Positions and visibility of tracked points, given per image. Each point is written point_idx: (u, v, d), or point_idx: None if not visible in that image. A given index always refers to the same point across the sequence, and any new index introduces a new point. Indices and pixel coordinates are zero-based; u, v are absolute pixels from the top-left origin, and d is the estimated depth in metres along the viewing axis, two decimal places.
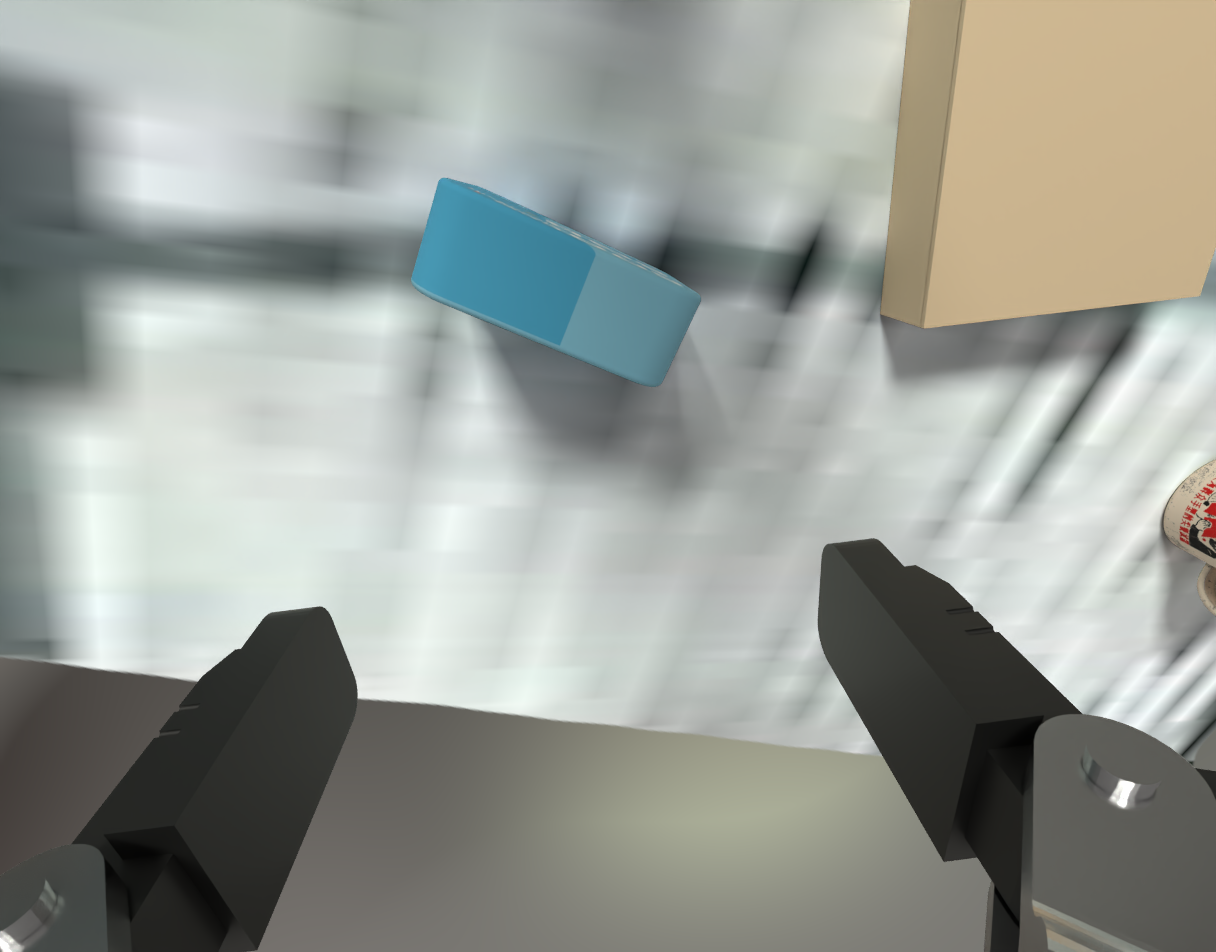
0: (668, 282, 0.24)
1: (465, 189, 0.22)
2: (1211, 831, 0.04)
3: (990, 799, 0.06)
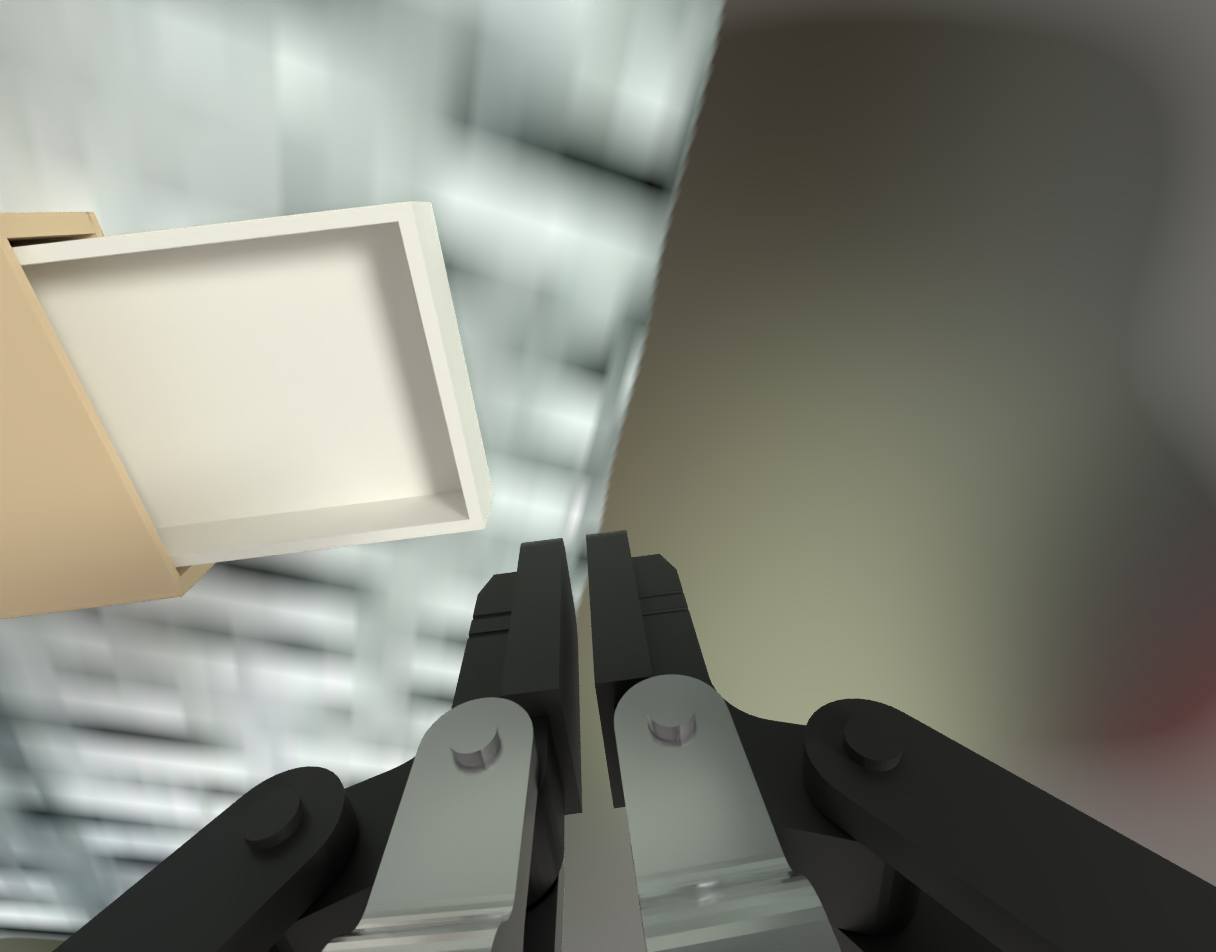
0: None
1: None
2: (700, 762, 0.05)
3: None
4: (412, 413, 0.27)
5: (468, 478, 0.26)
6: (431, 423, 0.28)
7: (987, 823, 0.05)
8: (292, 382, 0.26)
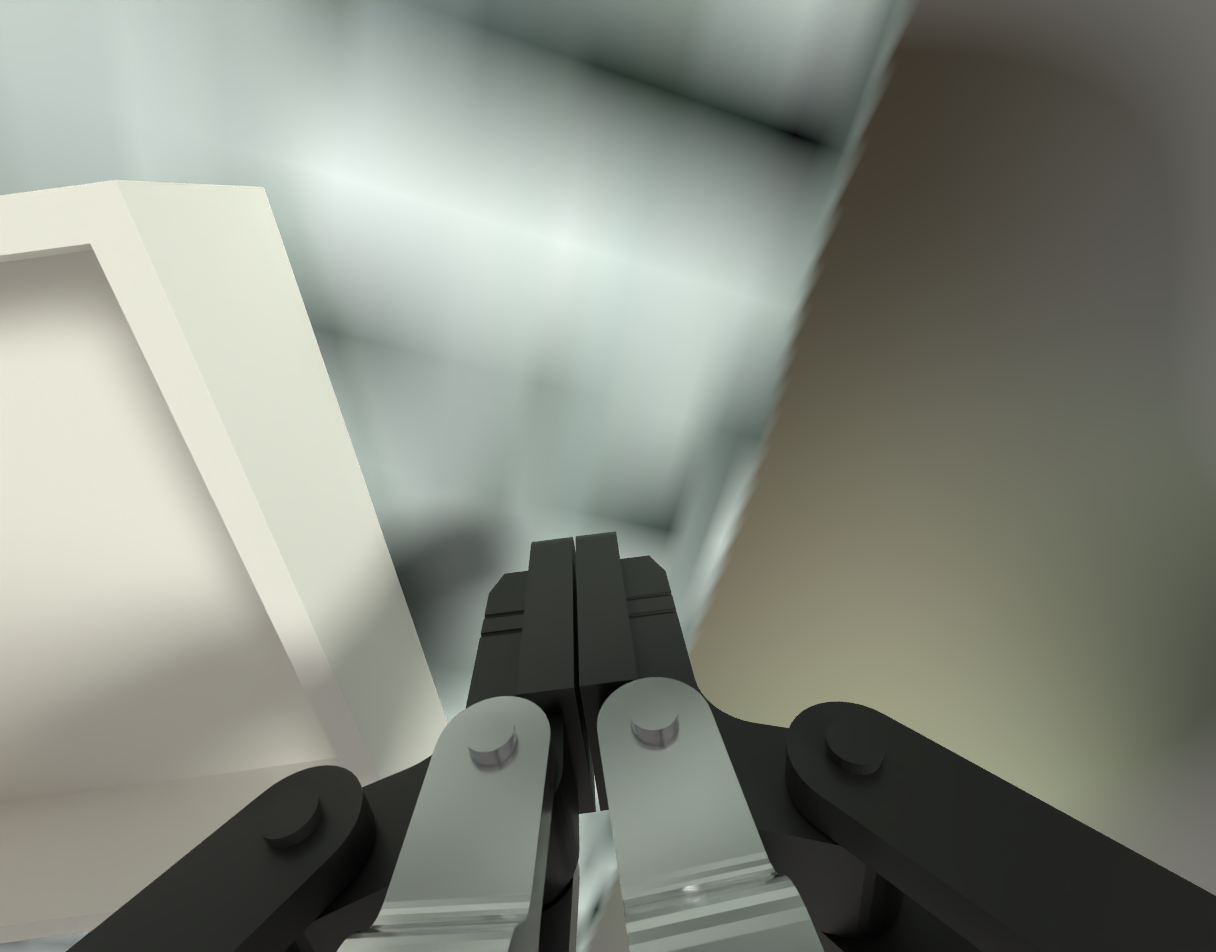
0: None
1: None
2: (681, 765, 0.05)
3: None
4: None
5: None
6: None
7: (968, 825, 0.05)
8: (10, 581, 0.12)
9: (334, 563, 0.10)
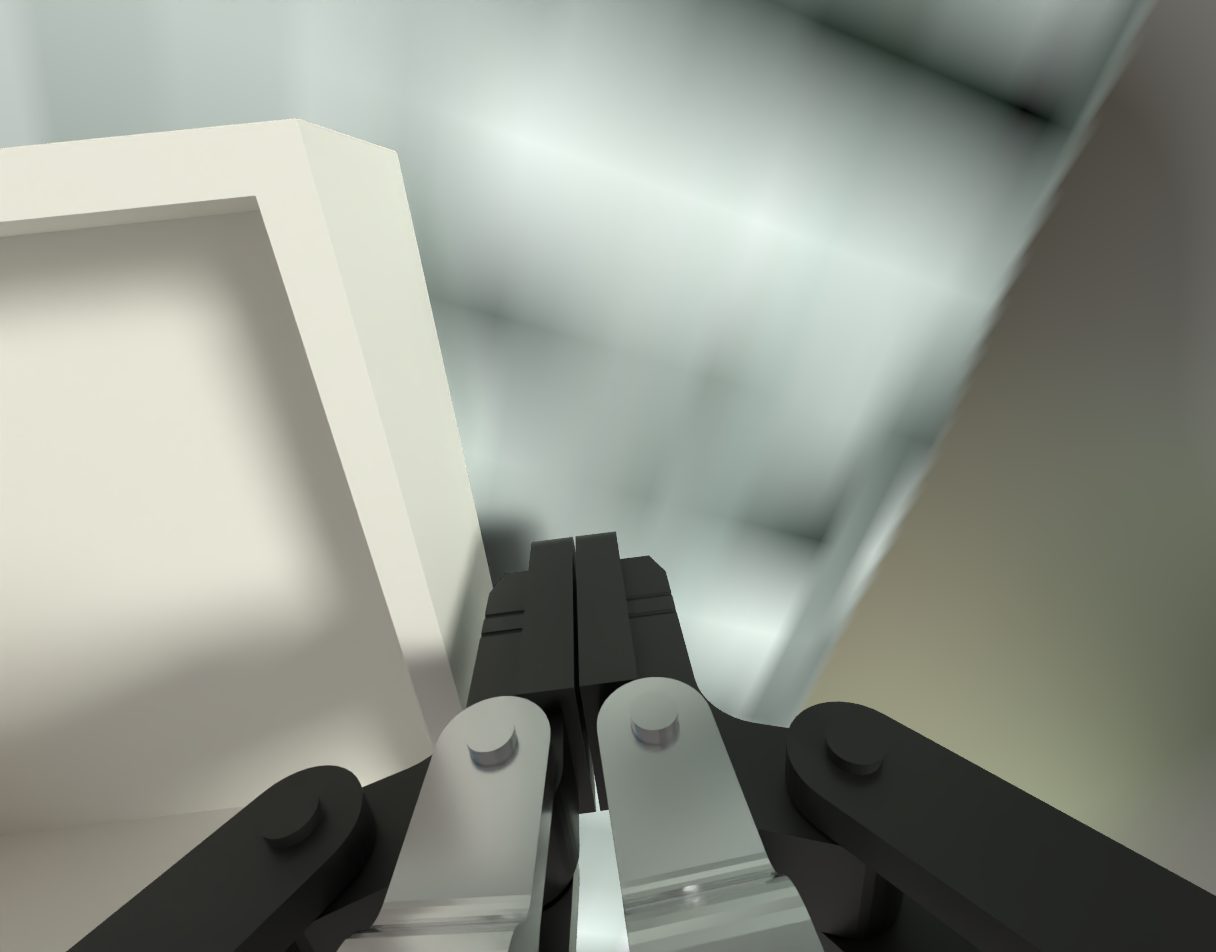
0: None
1: None
2: (682, 765, 0.05)
3: None
4: (358, 645, 0.12)
5: None
6: (403, 664, 0.12)
7: (968, 824, 0.05)
8: (67, 589, 0.11)
9: (456, 578, 0.09)
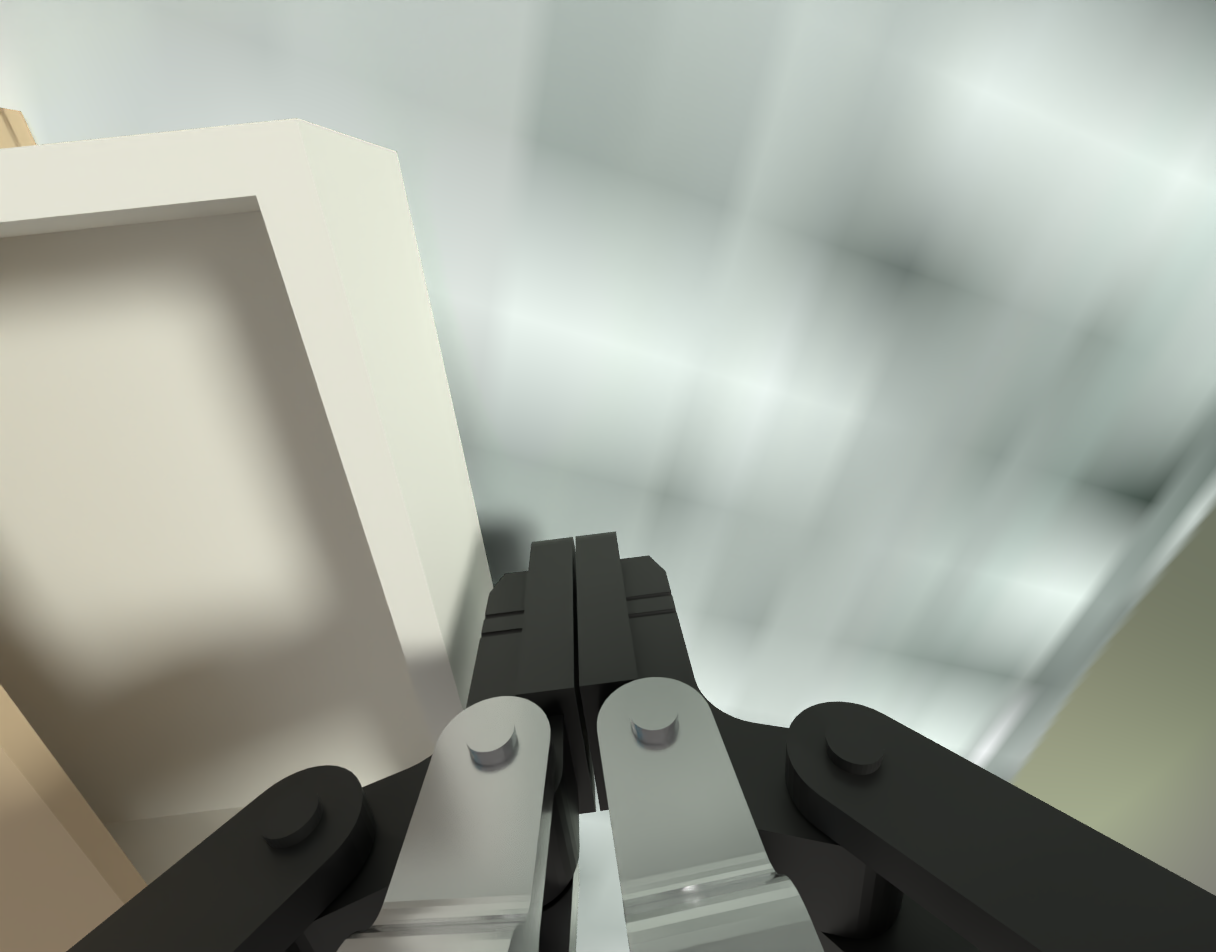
0: None
1: None
2: (681, 765, 0.05)
3: None
4: (358, 645, 0.12)
5: None
6: (403, 663, 0.12)
7: (968, 824, 0.05)
8: (68, 590, 0.11)
9: (456, 577, 0.09)
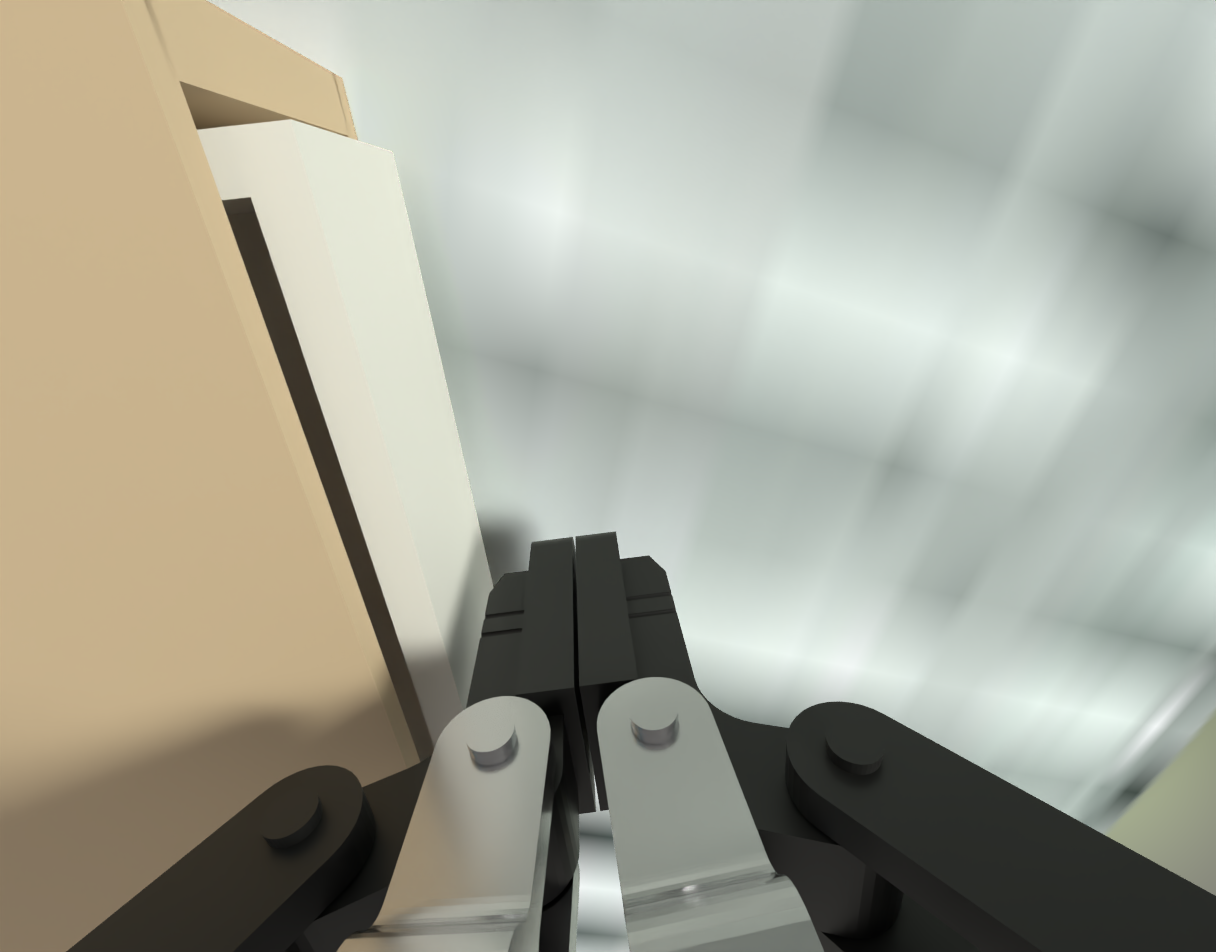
0: None
1: None
2: (681, 765, 0.05)
3: None
4: None
5: None
6: (404, 664, 0.12)
7: (968, 824, 0.05)
8: None
9: (456, 578, 0.09)
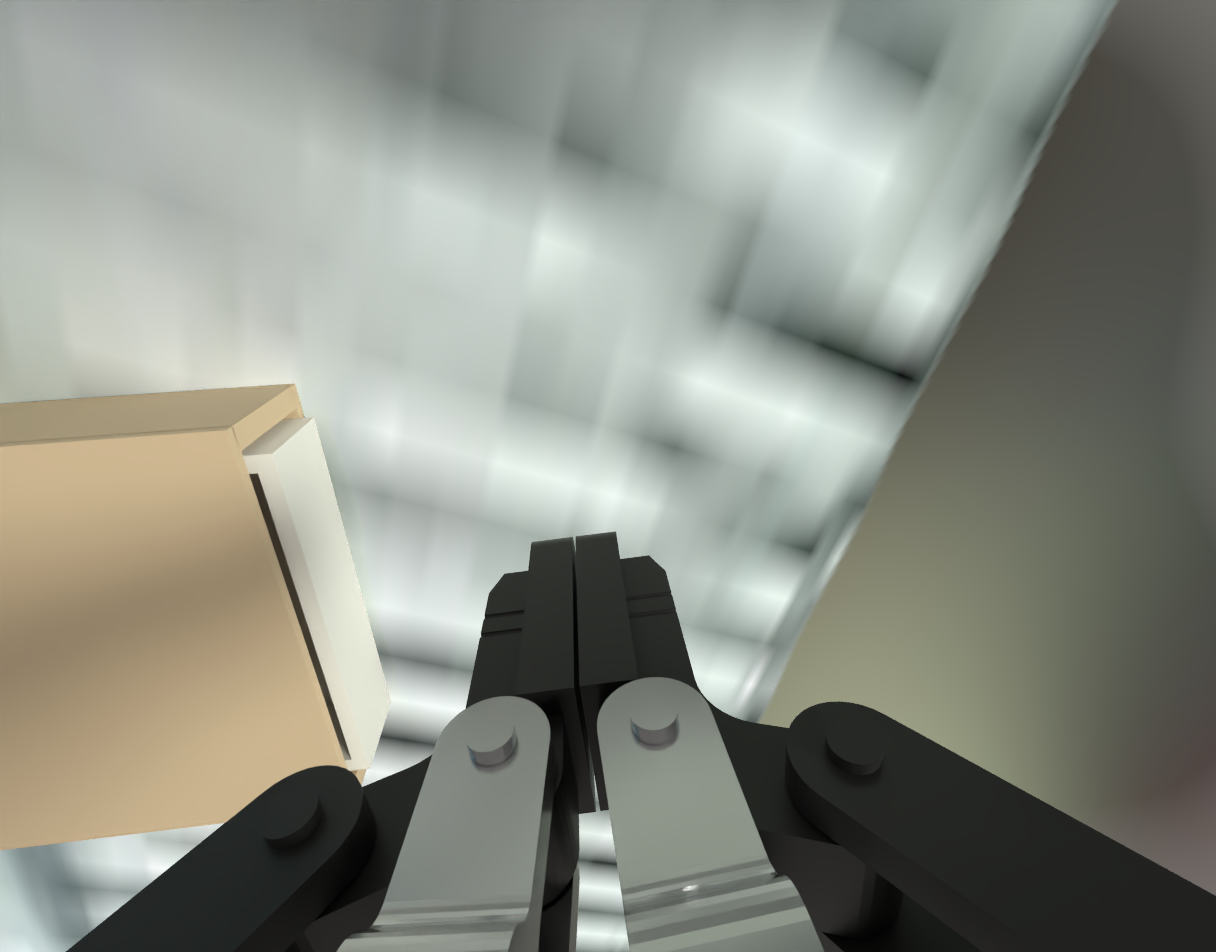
0: None
1: None
2: (681, 765, 0.05)
3: None
4: None
5: (349, 721, 0.22)
6: None
7: (968, 825, 0.05)
8: None
9: (335, 594, 0.21)
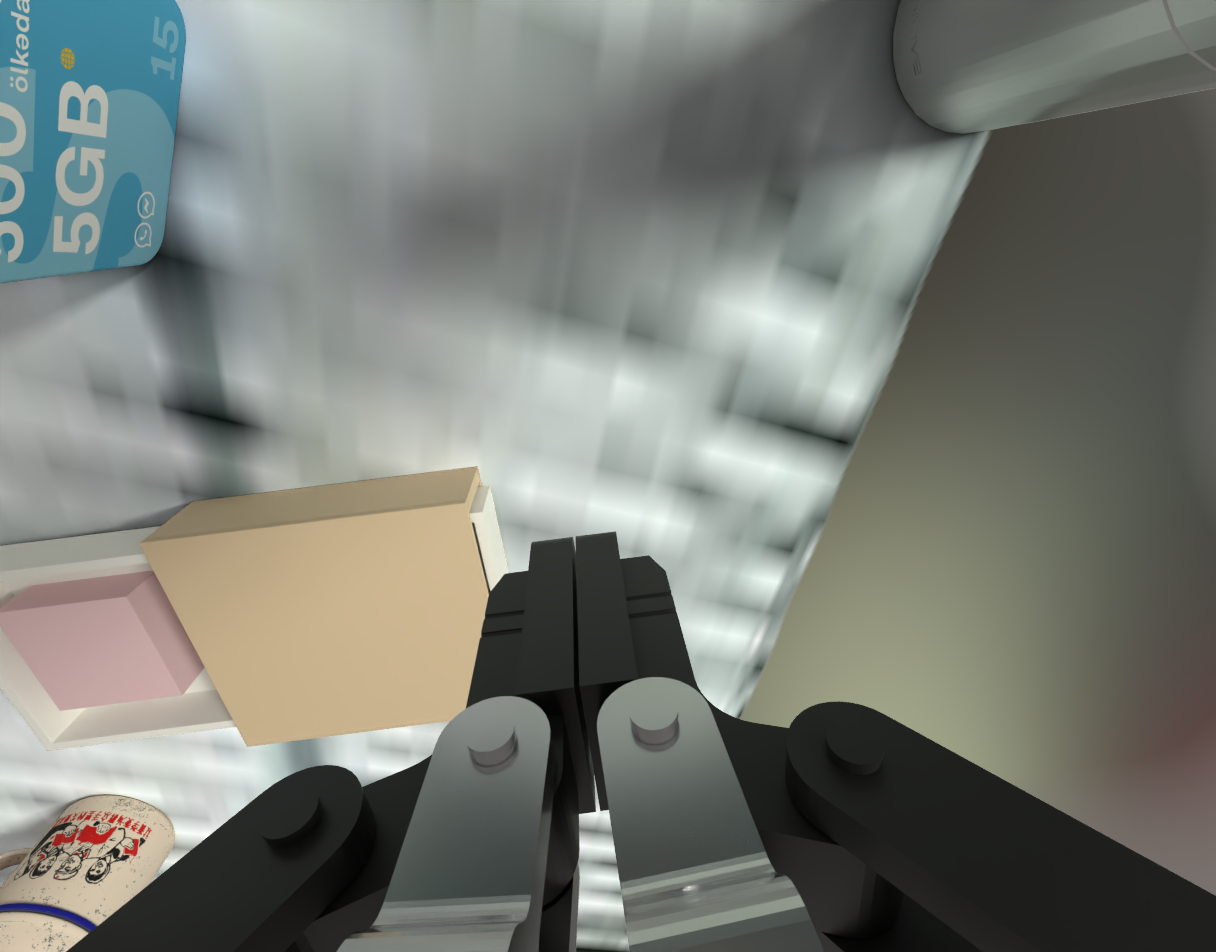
0: None
1: None
2: (681, 765, 0.05)
3: None
4: None
5: None
6: None
7: (968, 825, 0.05)
8: None
9: None
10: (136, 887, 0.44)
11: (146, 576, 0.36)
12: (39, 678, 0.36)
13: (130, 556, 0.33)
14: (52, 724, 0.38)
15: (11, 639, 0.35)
